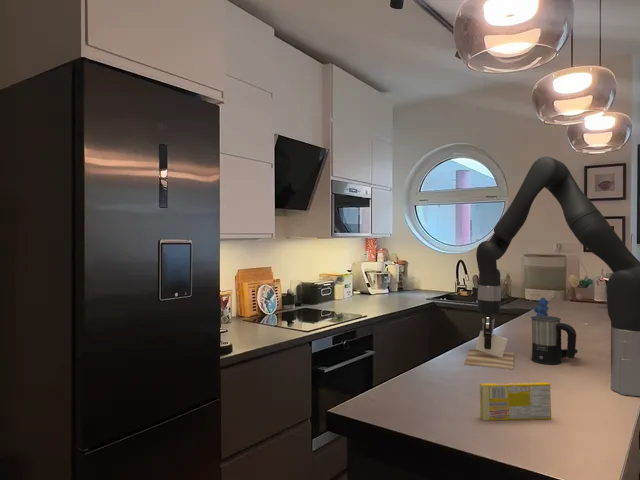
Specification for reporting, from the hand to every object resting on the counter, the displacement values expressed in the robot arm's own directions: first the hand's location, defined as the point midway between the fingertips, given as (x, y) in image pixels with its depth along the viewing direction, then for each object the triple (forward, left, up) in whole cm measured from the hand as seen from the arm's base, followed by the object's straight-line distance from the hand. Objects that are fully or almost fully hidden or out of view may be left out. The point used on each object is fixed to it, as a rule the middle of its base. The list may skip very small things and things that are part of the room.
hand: (487, 347), depth 163 cm
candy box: (-54, -9, -4) cm, 55 cm away
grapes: (+79, -20, -4) cm, 82 cm away
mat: (-2, -1, -3) cm, 4 cm away
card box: (0, 0, -2) cm, 2 cm away
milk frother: (+6, -21, -4) cm, 22 cm away
